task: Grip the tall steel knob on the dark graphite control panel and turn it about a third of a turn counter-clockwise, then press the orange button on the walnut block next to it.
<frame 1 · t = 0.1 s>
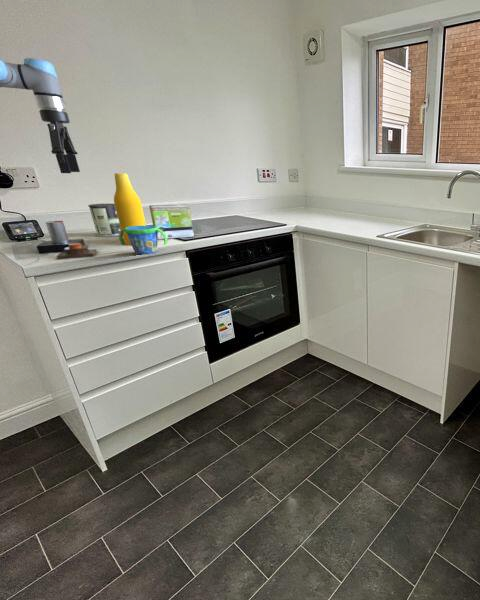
hand: (71, 172, 134), 29 cm above the countertop, tool pointing down, fingers open, 13 cm apart
control panel: (63, 249, 140), on the countertop
coffee can: (110, 234, 169), on the countertop
button block: (78, 255, 133), on the countertop
dial: (57, 231, 137), point 7 cm above the countertop, hinge at 0.0°
tea box: (175, 237, 169), on the countertop
start button: (75, 246, 131), point 3 cm above the countertop, slide at 0.1 cm
snack cup: (147, 253, 139), on the countertop
beer bottle: (137, 243, 154), on the countertop
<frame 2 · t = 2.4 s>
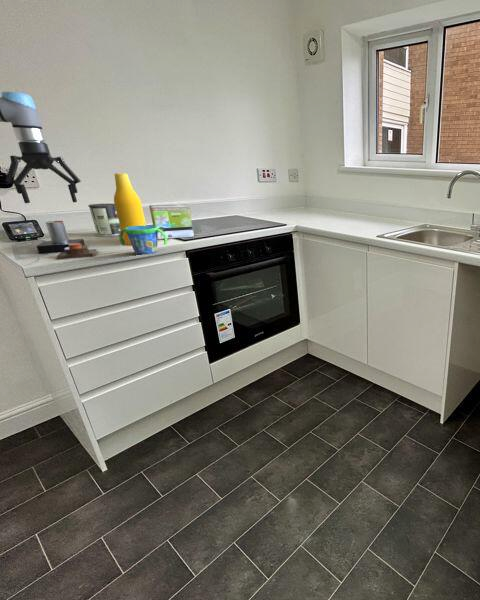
hand: (51, 202, 134), 18 cm above the countertop, tool pointing down, fingers open, 13 cm apart
nothing on the countertop moved.
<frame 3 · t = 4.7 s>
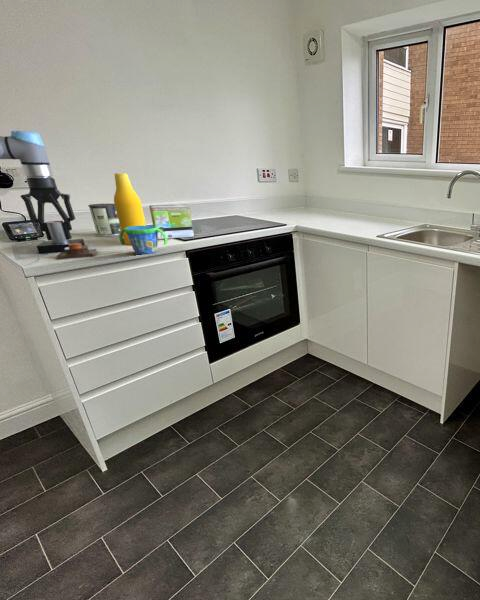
hand: (59, 239, 138), 4 cm above the countertop, tool pointing down, fingers closed on dial, 5 cm apart
dial: (57, 231, 137), point 7 cm above the countertop, hinge at 0.0°, touching gripper
everything else where it was.
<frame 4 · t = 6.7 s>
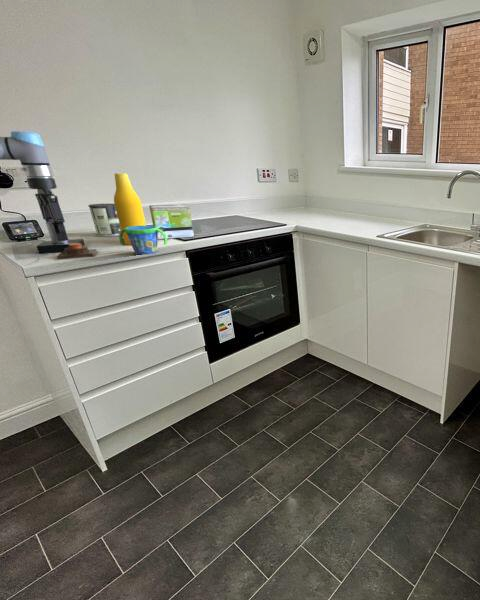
hand: (60, 239, 138), 4 cm above the countertop, tool pointing down, fingers open, 6 cm apart
dial: (57, 231, 137), point 7 cm above the countertop, hinge at 120.3°
everything else where it was.
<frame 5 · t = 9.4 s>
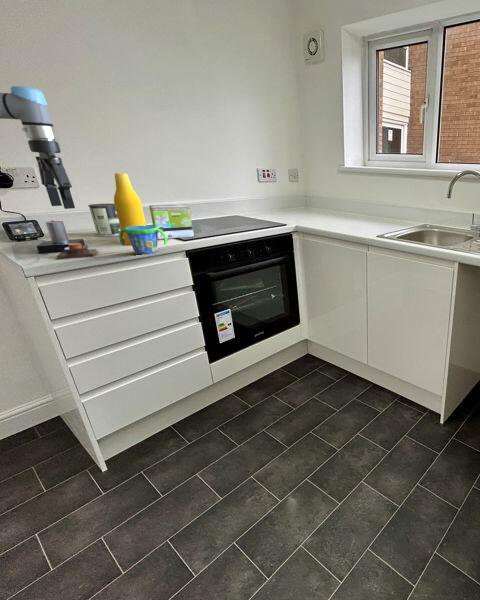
hand: (63, 207, 126), 18 cm above the countertop, tool pointing down, fingers open, 10 cm apart
nothing on the countertop moved.
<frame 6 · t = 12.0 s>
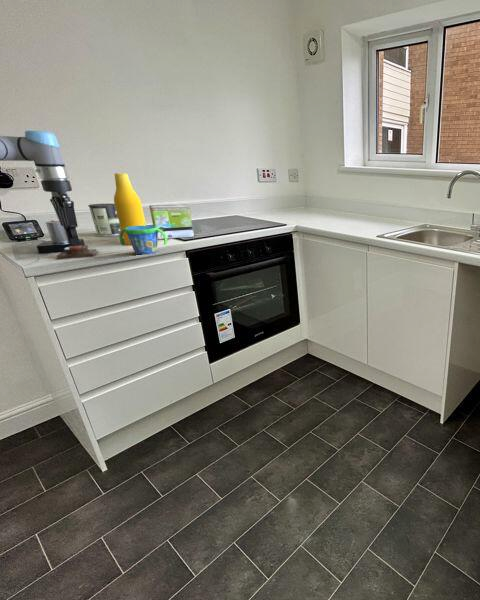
hand: (75, 245, 131), 4 cm above the countertop, tool pointing down, fingers closed
start button: (76, 248, 132), point 3 cm above the countertop, slide at -0.8 cm, touching gripper
everything else where it was.
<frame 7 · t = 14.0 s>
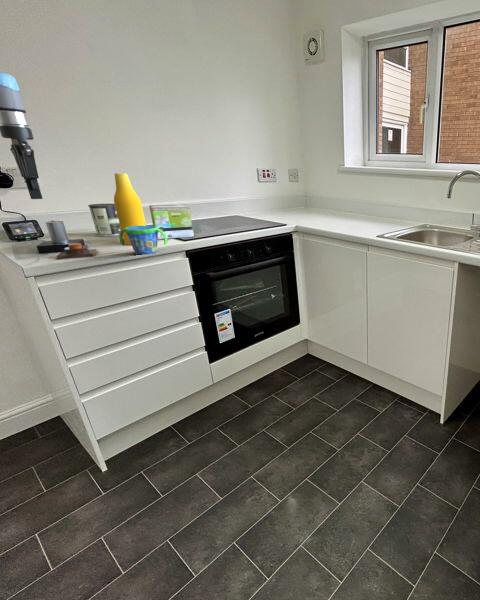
hand: (36, 198, 126), 20 cm above the countertop, tool pointing down, fingers closed
start button: (75, 246, 131), point 3 cm above the countertop, slide at 0.1 cm
everything else where it was.
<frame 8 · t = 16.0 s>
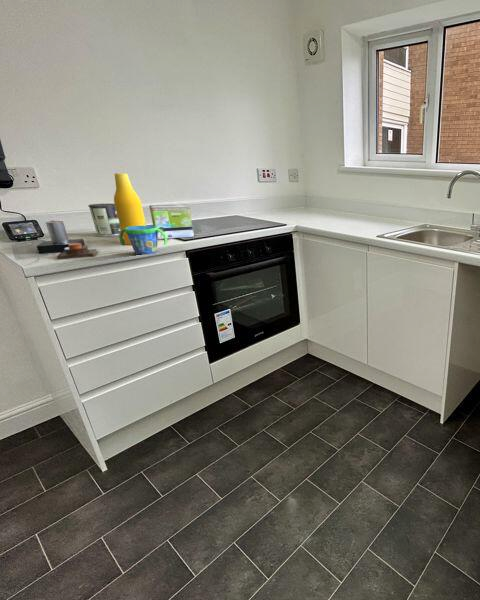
hand: (4, 180, 124), 26 cm above the countertop, tool pointing down, fingers closed
nothing on the countertop moved.
at the end: dial at +120° (first picture: +0°); start button pushed in 1.0 cm at the most during the clip, back to where it started at the end; start button slide at 0.1 cm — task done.
